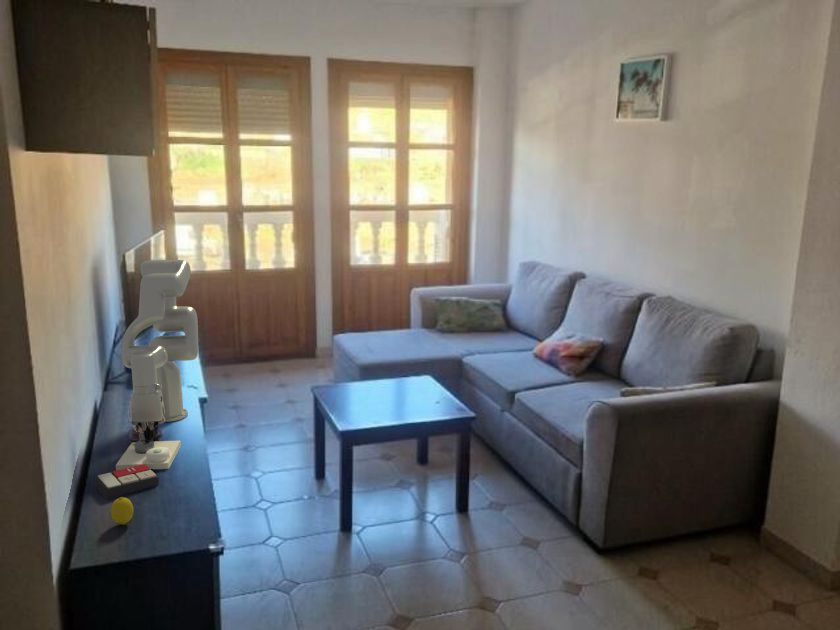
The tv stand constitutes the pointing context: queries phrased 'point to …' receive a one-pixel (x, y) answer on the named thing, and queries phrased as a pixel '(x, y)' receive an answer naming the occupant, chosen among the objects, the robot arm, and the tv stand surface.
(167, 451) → the base
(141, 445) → the gray scoop
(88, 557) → the tv stand surface
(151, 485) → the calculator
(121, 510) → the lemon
